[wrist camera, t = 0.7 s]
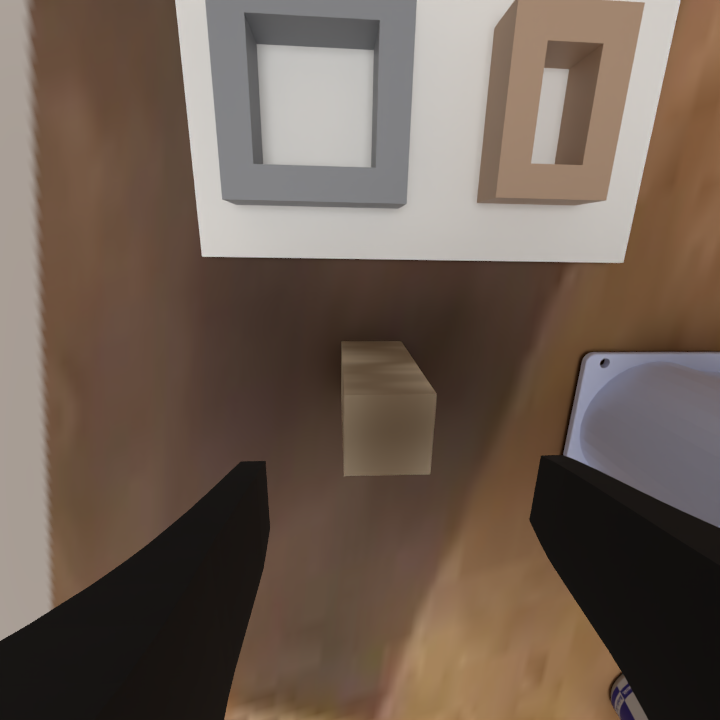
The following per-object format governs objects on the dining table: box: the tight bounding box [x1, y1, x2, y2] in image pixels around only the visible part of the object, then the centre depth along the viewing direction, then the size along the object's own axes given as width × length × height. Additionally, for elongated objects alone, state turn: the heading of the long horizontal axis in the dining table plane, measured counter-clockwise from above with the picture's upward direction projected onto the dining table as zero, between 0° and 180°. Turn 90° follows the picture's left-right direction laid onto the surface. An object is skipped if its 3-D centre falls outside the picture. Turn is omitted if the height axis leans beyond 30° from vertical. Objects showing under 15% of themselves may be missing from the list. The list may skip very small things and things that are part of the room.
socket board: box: [175, 0, 680, 263], centre depth 15 cm, size 19×11×3 cm, turn 89°
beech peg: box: [341, 341, 437, 476], centre depth 16 cm, size 3×3×7 cm
